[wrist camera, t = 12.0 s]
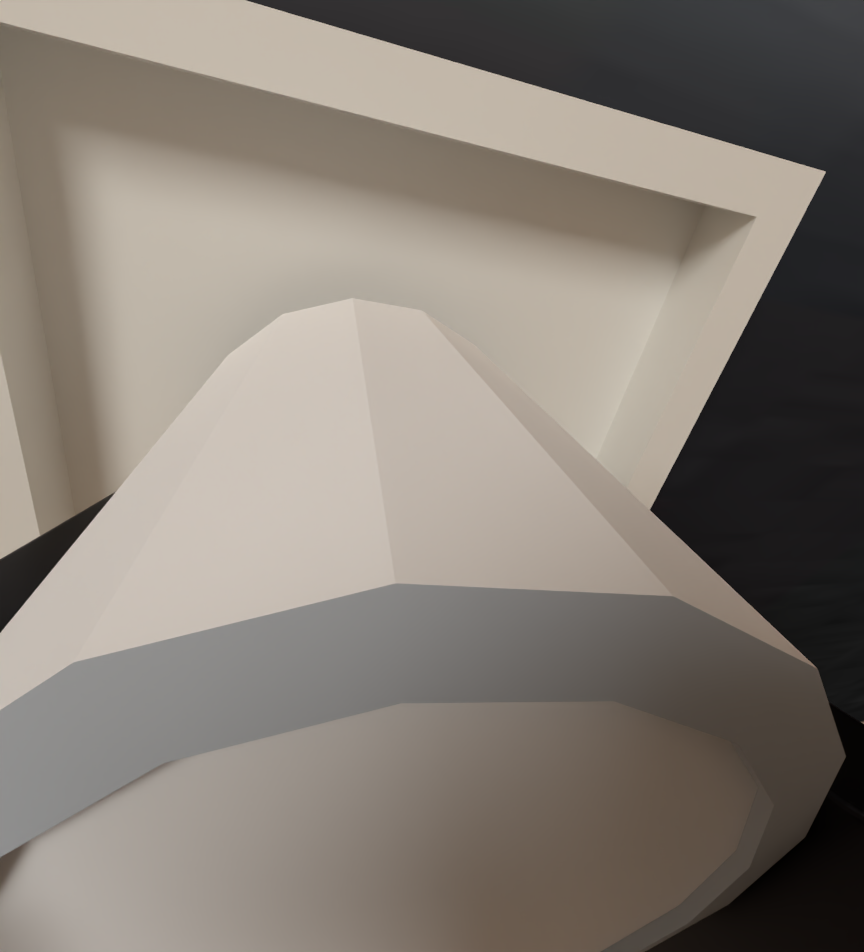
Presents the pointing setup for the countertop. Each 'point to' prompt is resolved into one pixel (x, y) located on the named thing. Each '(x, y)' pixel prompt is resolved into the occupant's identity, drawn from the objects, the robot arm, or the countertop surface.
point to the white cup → (388, 681)
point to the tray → (343, 231)
